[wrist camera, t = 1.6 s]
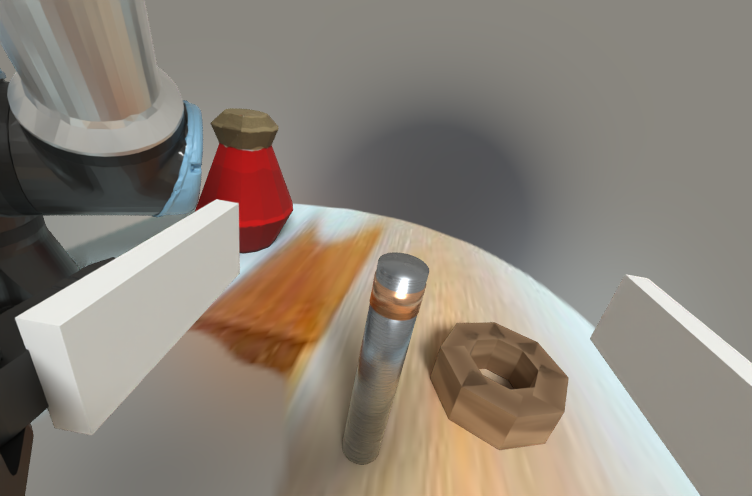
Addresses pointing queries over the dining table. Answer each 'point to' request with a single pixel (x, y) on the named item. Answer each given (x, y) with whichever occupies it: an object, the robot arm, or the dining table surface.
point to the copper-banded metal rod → (383, 352)
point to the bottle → (248, 177)
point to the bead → (499, 385)
